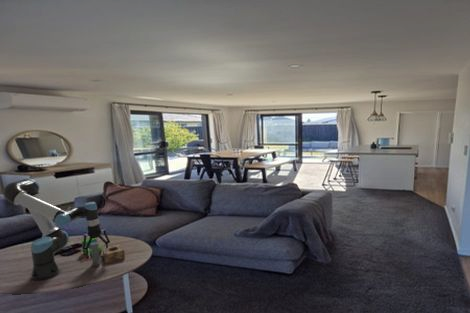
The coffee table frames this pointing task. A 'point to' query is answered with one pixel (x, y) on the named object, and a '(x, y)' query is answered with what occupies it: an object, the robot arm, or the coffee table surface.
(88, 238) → the toy car
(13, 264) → the coffee table surface
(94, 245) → the dark grey bar
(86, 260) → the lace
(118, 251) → the wooden square frame
